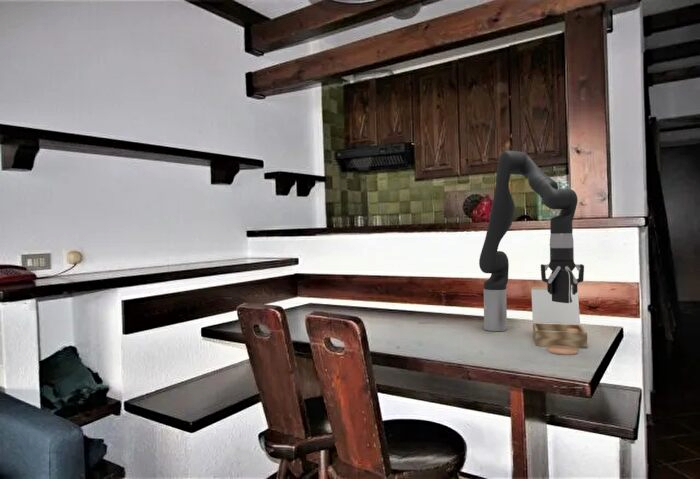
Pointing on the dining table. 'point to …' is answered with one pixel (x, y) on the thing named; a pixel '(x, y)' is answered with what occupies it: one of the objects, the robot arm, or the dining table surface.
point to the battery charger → (562, 286)
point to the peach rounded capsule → (572, 330)
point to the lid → (553, 308)
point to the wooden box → (559, 335)
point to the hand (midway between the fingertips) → (562, 294)
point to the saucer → (562, 350)
